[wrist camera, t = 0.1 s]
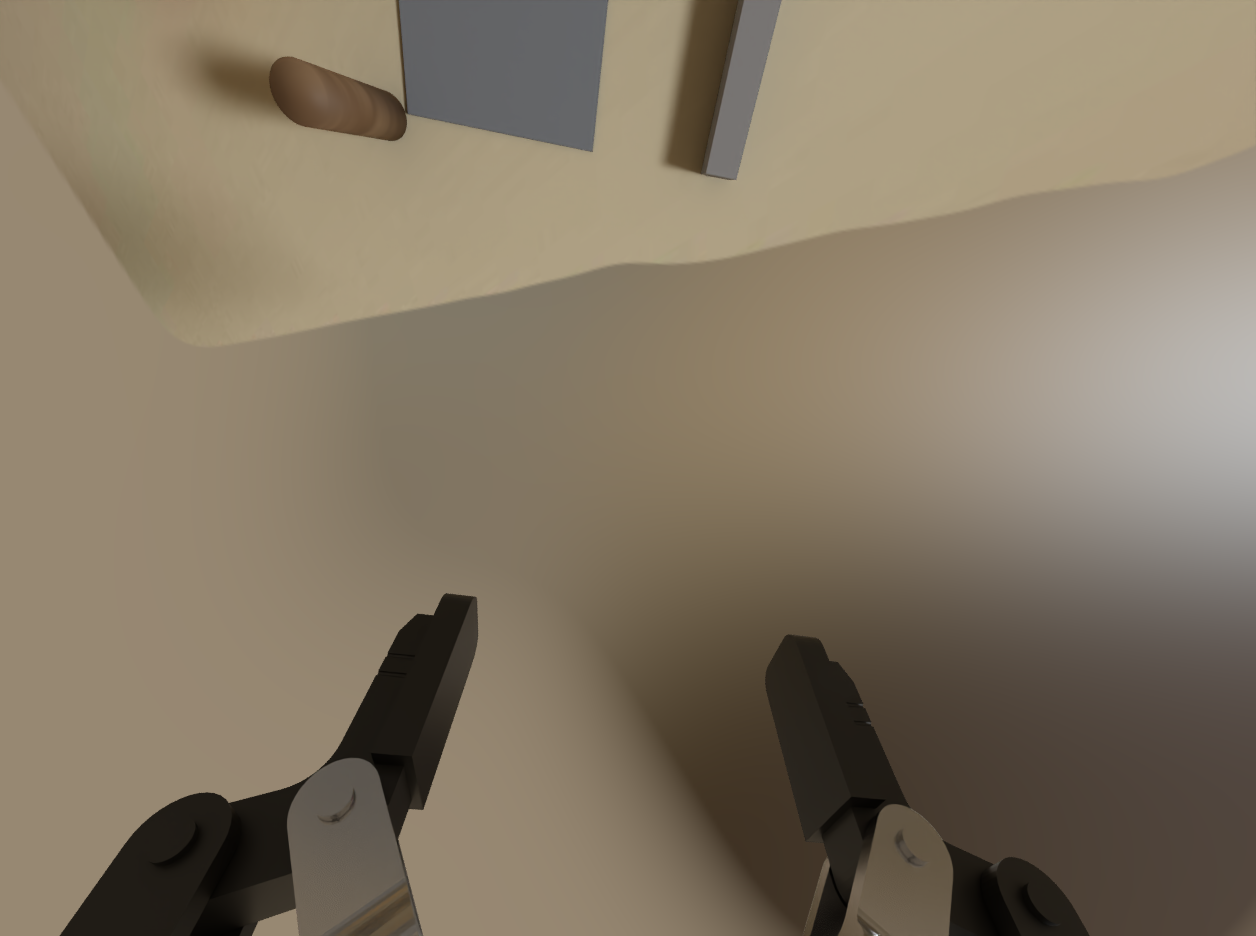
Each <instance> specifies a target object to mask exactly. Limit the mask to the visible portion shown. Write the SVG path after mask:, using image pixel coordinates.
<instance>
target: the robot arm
mask: <svg viewBox="0 0 1256 936" xmlns="http://www.w3.org/2000/svg"><path fill="white" fill-rule="evenodd" d="M477 640H478V616H477V598H476V597H473V596H464V595H456V594H447V593H446V594H444V595H443V597H442V598H441V601H440V603H439V605H438V607H437V609H436V611H435V613H434V615H425V614H417V615H416V616H415V617H414V618H413V619H411V620H410V621H409V622H408V623H407V624H406V625H405V626H404V627H403V628H402V629H401V630H400V631H399V632H398V634H397V636H396V638H395V640H394V642H393V644H392V646H391V648H390V649H389V651H388V655H387V657H385V659H384V661H383V663H382V665H381V667H380V669H379V672H378V675H376V676H375V678H374V680H373V682H372V684H371V686H370V688H369V690H368V692H367V694H366V696H365V698H364V699H363V702H362V703H361V705H360V707H359V709H358V711H357V713H356V715H355V717H354V719H353V721H352V723H351V725H350V726H349V728H348V730H347V732H346V734H345V736H344V738H343V740H342V742H341V744H340V745H339V747H338V749H337V750H336V752H335V753H334V754H333V756H332V757H331V758H330V759H329V760H328V761H327V763H325V764H324V765H323V766H322V767H321V768H320V769H319V770H318V771H317V772H315V773H314V774H312V775H311V776H310V777H308V778H306V779H305V780H303V781H301V782H299V783H297V784H295V785H293V786H290V787H287V788H284V789H281V790H278V791H273V792H270V793H266V794H262V795H258V796H254V797H250V798H246V799H243V800H239V801H235V802H231V803H228V801H227V800H226V799H225V798H223V797H222V796H221V795H218V794H215V793H198V794H193V795H189V796H187V797H184V798H181V799H179V800H177V801H175V802H173V803H171V804H169V805H167V806H166V807H164V808H162V809H161V810H159V811H158V812H157V813H155V814H154V815H152V816H151V817H150V818H149V819H148V820H147V821H145V822H144V823H143V824H142V825H141V826H140V827H139V828H138V829H137V830H136V831H135V832H134V833H133V835H132V836H131V837H130V838H129V840H128V841H127V842H126V843H125V845H124V846H123V848H122V849H121V851H120V852H119V853H118V855H117V856H116V858H115V859H114V860H113V862H112V863H111V865H110V866H109V867H108V869H107V870H106V871H105V873H104V874H103V876H102V877H101V878H100V880H99V881H98V883H97V884H96V886H95V887H94V888H93V890H92V891H91V893H90V894H89V895H88V897H87V898H86V900H85V901H84V902H83V904H82V905H81V907H80V908H79V910H78V911H77V912H76V914H75V915H74V916H73V918H72V919H71V921H70V922H69V923H68V925H67V926H66V928H65V929H64V930H63V932H62V933H61V935H60V936H252V934H253V932H254V929H255V927H256V925H257V923H258V921H260V920H263V919H266V918H269V917H272V916H275V915H278V914H281V913H283V912H286V911H289V910H292V909H295V908H296V911H297V921H298V930H299V936H423V933H422V929H421V925H420V922H419V918H418V914H417V910H416V906H415V902H414V898H413V895H412V891H411V887H410V883H409V879H408V876H407V871H406V867H405V863H404V860H403V856H402V852H401V848H400V845H399V840H398V837H399V835H400V832H401V829H402V826H403V823H404V821H405V818H406V815H407V812H408V809H418V810H423V809H424V805H425V803H426V800H427V796H428V794H429V791H430V787H431V785H432V782H433V779H434V776H435V773H436V770H437V767H438V764H439V761H440V758H441V755H442V752H443V749H444V746H445V743H446V740H447V737H448V734H449V731H450V728H451V724H452V722H453V719H454V716H455V713H456V710H457V707H458V703H459V701H460V698H461V695H462V692H463V689H464V686H465V683H466V680H467V677H468V674H469V671H470V668H471V665H472V662H473V659H474V655H475V651H476V647H477ZM765 678H766V679H765V682H766V683H765V685H766V691H767V696H768V699H769V703H770V707H771V711H772V715H773V719H774V722H775V726H776V730H777V734H778V738H779V742H780V745H781V749H782V753H783V757H784V761H785V765H786V768H787V772H788V776H789V780H790V783H791V787H792V791H793V795H794V799H795V803H796V806H797V810H798V814H799V818H800V822H801V826H802V830H803V833H804V837H805V841H806V842H818V843H824V846H825V849H826V853H827V856H828V857H827V859H826V860H825V862H824V864H823V868H822V871H821V875H820V878H819V882H818V885H817V888H816V892H815V895H814V899H813V902H812V905H811V909H810V913H809V916H808V919H807V923H806V926H805V930H804V933H803V936H1089V934H1088V932H1087V930H1086V928H1085V927H1084V925H1083V923H1082V922H1081V920H1080V918H1079V916H1078V914H1077V913H1076V911H1075V909H1074V908H1073V906H1072V904H1071V903H1070V902H1069V900H1068V899H1067V897H1066V896H1065V894H1064V893H1063V892H1062V891H1061V890H1060V888H1059V887H1058V886H1057V885H1056V884H1055V883H1054V882H1053V881H1052V880H1051V879H1050V878H1049V877H1048V876H1047V875H1046V874H1045V873H1043V872H1042V871H1041V870H1039V869H1038V868H1037V867H1035V866H1034V865H1032V864H1030V863H1029V862H1027V861H1024V860H1022V859H1019V858H1013V857H1008V858H1005V859H1003V860H1001V861H999V862H998V863H996V864H992V863H990V862H987V861H985V860H983V859H981V858H979V857H977V856H974V855H972V854H970V853H968V852H966V851H964V850H961V849H959V848H957V847H955V846H953V845H951V844H949V843H947V842H945V841H943V840H942V839H941V837H940V836H939V834H938V833H937V831H936V830H935V829H934V828H933V827H932V826H931V824H930V823H929V822H928V821H927V820H926V819H924V818H923V817H922V816H921V815H920V814H918V813H917V812H915V811H914V810H912V809H911V808H910V807H909V805H908V803H907V802H906V799H905V797H904V795H903V793H902V791H901V789H900V786H899V784H898V782H897V780H896V777H895V775H894V773H893V771H892V768H891V766H890V764H889V761H888V759H887V757H886V755H885V752H884V750H883V748H882V746H881V743H880V741H879V739H878V736H877V734H876V732H875V730H874V727H872V726H871V721H870V718H869V716H868V714H867V712H866V709H865V708H863V702H862V700H861V698H860V696H859V693H858V691H857V689H856V687H855V684H854V682H853V681H852V680H851V678H850V677H849V676H848V675H847V673H846V672H845V671H844V670H843V668H842V667H841V666H840V665H839V663H838V662H832V661H829V659H828V657H827V654H826V652H825V649H824V647H823V645H822V643H821V641H820V640H819V639H817V638H814V637H806V636H798V635H786V636H785V637H784V639H783V641H782V643H781V644H780V646H779V648H778V650H777V651H776V653H775V655H774V656H773V658H772V660H771V662H770V664H769V665H768V667H767V671H766V677H765Z"/></svg>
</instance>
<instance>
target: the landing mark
mask: <svg viewBox="0 0 1256 936" xmlns="http://www.w3.org/2000/svg"><path fill="white" fill-rule="evenodd" d="M607 4H608V0H399V8H400V20H401V33H402V45H403V58H404V71H405V83H406V96H407V108H408V114H411V115H416V116H420V117H425V118H430V119H435V120H440V121H445V122H450V123H454V124H459V125H464V126H469V127H474V128H479V129H484V130H489V131H493V132H498V133H503V134H508V135H513V136H518V137H523V138H528V139H532V140H537V141H542V142H547V143H552V144H557V145H562V146H567V147H571V148H576V149H581V150H586V151H591V152H593V142H594V132H595V122H596V112H597V103H598V93H599V83H600V73H601V63H602V53H603V44H604V34H605V24H606V14H607Z"/></svg>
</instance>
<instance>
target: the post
mask: <svg viewBox="0 0 1256 936" xmlns="http://www.w3.org/2000/svg"><path fill="white" fill-rule="evenodd" d="M269 82H270V88H271V92H272V95H273V97H274V99H275V101H276V103H277V105H278V106H279V108H280V109H281V111H282V112H283V113H284V114H285V115H286V116H287V117H288V118H289V119H290V120H292V121H293V122H295V123H297V124H299V125H301V126H305V127H311V128H317V129H323V130H329V131H335V132H341V133H347V134H353V135H359V136H365V137H371V138H376V139H382V140H388V141H395V140H398V139H400V138H401V137H402V136H403V135H404V133H405V130H406V126H407V119H406V114H405V111H404V109H403V107H402V105H401V103H400V102H399V100H398V99H397V98H396V97H395V96H394V95H392V94H391V93H389V92H387V91H384V90H381V89H379V88H376V87H373V86H371V85H368V84H365V83H362V82H360V81H357V80H354V79H351V78H349V77H346V76H343V75H340V74H338V73H335V72H332V71H330V70H327V69H324V68H321V67H319V66H316V65H313V64H310V63H308V62H305V61H302V60H300V59H297V58H294V57H282V58H279V59H278V60H276V61H275V62H274V64H273V65H272V67H271V70H270V76H269Z"/></svg>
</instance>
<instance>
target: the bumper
mask: <svg viewBox="0 0 1256 936" xmlns="http://www.w3.org/2000/svg"><path fill="white" fill-rule="evenodd" d="M780 4H781V0H738V4H737V9H736V13H735V18H734V23H733V27H732V32H731V37H730V41H729V46H728V50H727V55H726V60H725V64H724V69H723V74H722V78H721V83H720V88H719V92H718V97H717V102H716V106H715V111H714V116H713V120H712V125H711V129H710V134H709V139H708V143H707V148H706V153H705V157H704V162H703V167H702V171H701V174H703V175H708V176H713V177H718V178H722V179H727V180H736V178H737V174H738V170H739V167H740V163H741V159H742V155H743V151H744V147H745V143H746V139H747V135H748V131H749V127H750V123H751V119H752V115H753V111H754V107H755V103H756V99H757V95H758V91H759V87H760V83H761V80H762V76H763V72H764V68H765V64H766V60H767V56H768V52H769V48H770V44H771V40H772V36H773V32H774V28H775V24H776V20H777V16H778V12H779V8H780Z"/></svg>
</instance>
